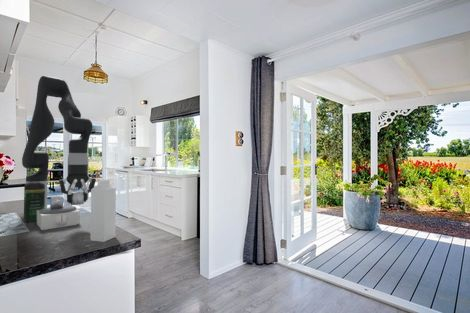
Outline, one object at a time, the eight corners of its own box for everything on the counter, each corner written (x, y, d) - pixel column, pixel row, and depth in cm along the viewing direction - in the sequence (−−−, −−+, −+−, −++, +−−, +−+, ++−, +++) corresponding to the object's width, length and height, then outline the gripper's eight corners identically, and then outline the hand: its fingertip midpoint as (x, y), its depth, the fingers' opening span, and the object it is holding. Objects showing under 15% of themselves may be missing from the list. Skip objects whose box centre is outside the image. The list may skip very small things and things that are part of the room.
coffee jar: (45, 221, 122) (45, 181, 122) (23, 223, 117) (24, 182, 117) (44, 217, 130) (44, 180, 130) (23, 219, 125) (24, 181, 125)
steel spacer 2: (69, 203, 113) (69, 192, 113) (82, 202, 117) (82, 191, 117) (72, 205, 110) (72, 193, 110) (85, 204, 113) (85, 192, 113)
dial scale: (36, 223, 118) (36, 208, 118) (72, 218, 128) (72, 204, 128) (41, 230, 107) (42, 213, 107) (80, 224, 117) (80, 209, 117)
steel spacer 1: (49, 207, 120) (49, 196, 120) (62, 206, 124) (62, 195, 124) (51, 209, 117) (51, 198, 117) (64, 207, 120) (64, 196, 120)
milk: (90, 240, 95) (90, 180, 95) (102, 235, 101) (102, 179, 101) (104, 242, 94) (104, 181, 94) (115, 237, 100) (115, 179, 100)
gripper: (93, 163, 121) (92, 199, 121) (56, 163, 111) (55, 203, 111) (98, 163, 115) (97, 201, 115) (60, 164, 105) (59, 205, 105)
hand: (77, 202), depth 113 cm, fingers closed on steel spacer 2, 5 cm apart
